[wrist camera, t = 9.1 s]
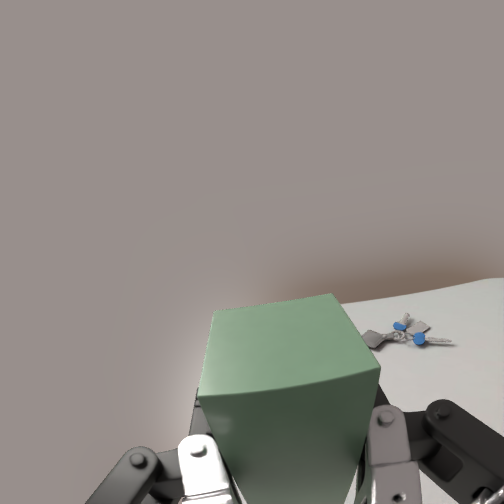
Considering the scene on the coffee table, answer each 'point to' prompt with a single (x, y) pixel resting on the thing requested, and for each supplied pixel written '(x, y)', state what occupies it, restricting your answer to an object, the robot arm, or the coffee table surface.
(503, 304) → the coffee table surface
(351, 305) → the coffee table surface
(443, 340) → the key chain
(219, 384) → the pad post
